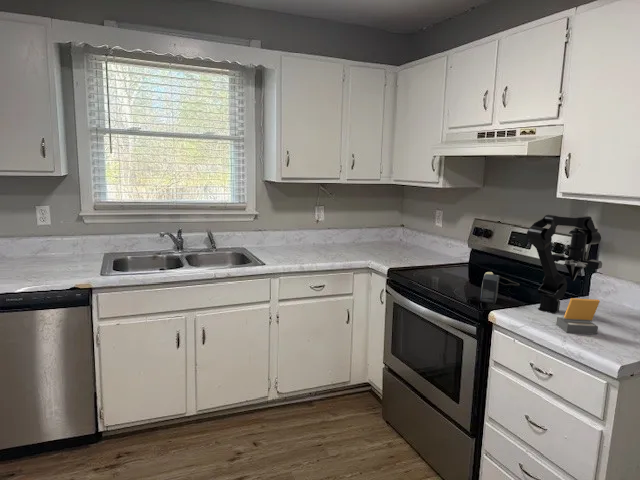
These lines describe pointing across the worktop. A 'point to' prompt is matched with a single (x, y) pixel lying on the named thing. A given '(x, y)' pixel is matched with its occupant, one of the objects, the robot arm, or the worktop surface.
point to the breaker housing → (577, 326)
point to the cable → (504, 278)
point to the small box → (490, 288)
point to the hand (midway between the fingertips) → (572, 280)
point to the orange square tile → (581, 309)
